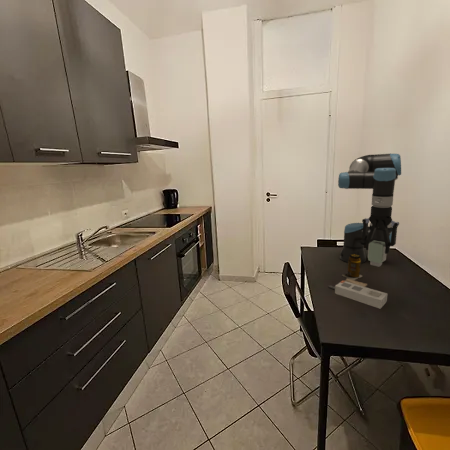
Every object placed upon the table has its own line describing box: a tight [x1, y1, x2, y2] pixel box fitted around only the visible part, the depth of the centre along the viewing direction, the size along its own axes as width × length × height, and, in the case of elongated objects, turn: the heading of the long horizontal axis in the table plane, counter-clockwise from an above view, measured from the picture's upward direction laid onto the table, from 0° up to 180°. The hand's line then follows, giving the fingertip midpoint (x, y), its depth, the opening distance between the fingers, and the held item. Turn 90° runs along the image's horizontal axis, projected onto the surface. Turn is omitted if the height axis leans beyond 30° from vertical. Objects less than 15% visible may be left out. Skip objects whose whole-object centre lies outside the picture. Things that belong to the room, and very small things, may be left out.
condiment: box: [341, 254, 363, 281], centre depth 143 cm, size 7×8×12 cm
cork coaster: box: [344, 277, 368, 287], centre depth 133 cm, size 10×10×1 cm
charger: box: [367, 240, 385, 268], centre depth 113 cm, size 5×5×10 cm
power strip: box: [328, 280, 388, 310], centre depth 123 cm, size 25×8×4 cm, turn 43°
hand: (376, 258), depth 114 cm, fingers closed on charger, 5 cm apart
